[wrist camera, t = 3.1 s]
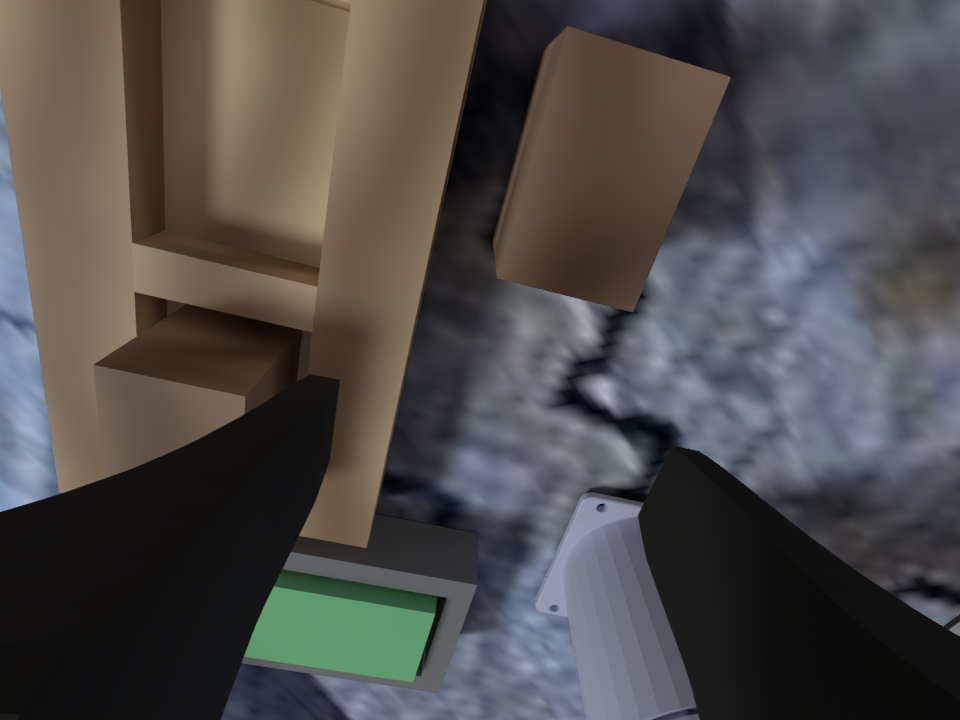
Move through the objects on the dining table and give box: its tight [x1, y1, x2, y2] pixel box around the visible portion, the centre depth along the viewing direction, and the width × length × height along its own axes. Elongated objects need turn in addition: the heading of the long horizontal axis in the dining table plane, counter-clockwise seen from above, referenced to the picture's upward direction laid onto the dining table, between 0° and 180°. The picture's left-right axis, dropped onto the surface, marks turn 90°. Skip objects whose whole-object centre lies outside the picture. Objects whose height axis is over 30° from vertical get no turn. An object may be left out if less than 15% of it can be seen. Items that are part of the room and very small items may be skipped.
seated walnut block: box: [93, 304, 302, 478], centre depth 17 cm, size 4×6×5 cm, turn 166°
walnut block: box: [492, 26, 731, 312], centre depth 15 cm, size 4×6×5 cm, turn 166°
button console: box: [242, 514, 478, 693], centre depth 24 cm, size 12×8×3 cm, turn 76°
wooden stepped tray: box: [0, 0, 487, 548], centre depth 17 cm, size 12×20×3 cm, turn 166°
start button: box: [244, 569, 437, 682], centre depth 23 cm, size 9×5×2 cm, turn 76°
